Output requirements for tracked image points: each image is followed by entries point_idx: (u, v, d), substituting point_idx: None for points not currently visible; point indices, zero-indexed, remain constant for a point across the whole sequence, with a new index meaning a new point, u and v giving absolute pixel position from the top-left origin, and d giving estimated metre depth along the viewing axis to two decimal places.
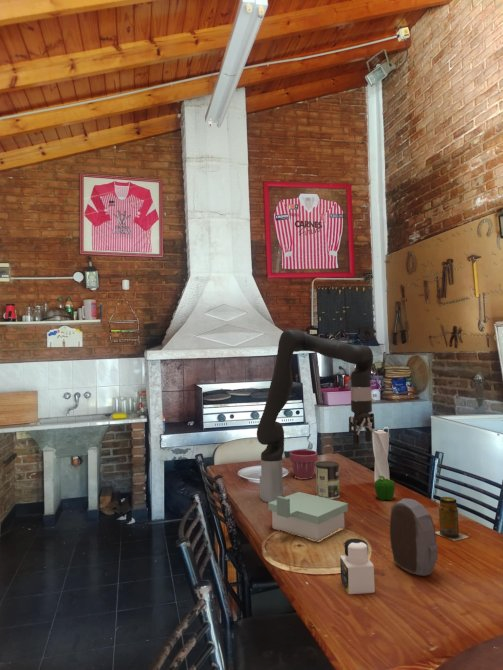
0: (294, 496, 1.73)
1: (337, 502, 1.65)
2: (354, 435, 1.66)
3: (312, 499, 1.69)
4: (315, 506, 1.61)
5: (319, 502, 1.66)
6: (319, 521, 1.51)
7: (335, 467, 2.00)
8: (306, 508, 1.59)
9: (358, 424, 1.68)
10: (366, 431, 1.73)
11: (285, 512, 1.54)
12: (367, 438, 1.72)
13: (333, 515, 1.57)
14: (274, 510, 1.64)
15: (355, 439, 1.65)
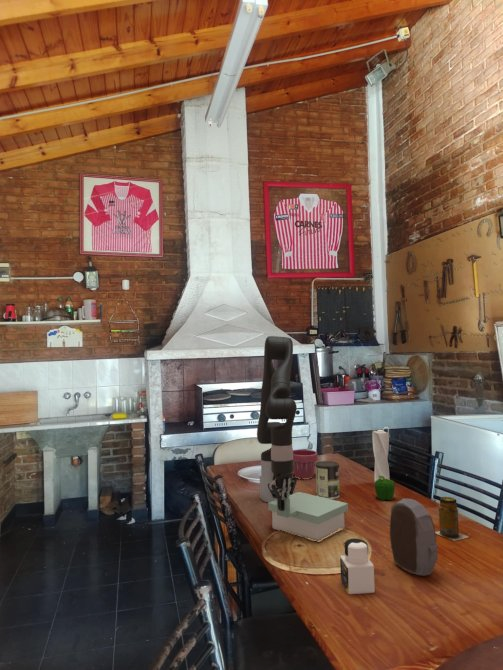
0: (294, 496, 1.73)
1: (337, 502, 1.65)
2: (279, 500, 1.54)
3: (312, 499, 1.69)
4: (315, 506, 1.61)
5: (319, 502, 1.66)
6: (319, 521, 1.51)
7: (335, 467, 2.00)
8: (306, 508, 1.59)
9: None
10: None
11: (285, 512, 1.54)
12: None
13: (333, 515, 1.57)
14: (274, 510, 1.64)
15: (279, 504, 1.54)
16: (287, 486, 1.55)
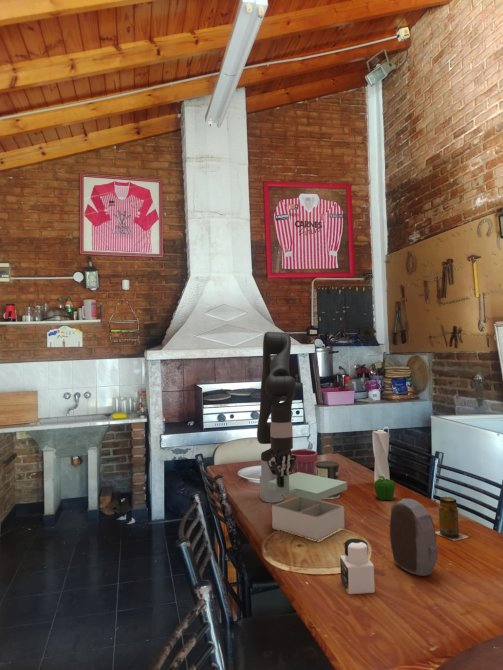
0: (293, 476, 1.73)
1: (336, 481, 1.65)
2: (278, 477, 1.54)
3: (312, 478, 1.69)
4: (314, 484, 1.62)
5: (319, 480, 1.66)
6: (318, 498, 1.52)
7: (335, 467, 2.00)
8: (305, 486, 1.60)
9: None
10: None
11: (284, 489, 1.54)
12: None
13: (332, 493, 1.58)
14: (273, 488, 1.64)
15: (279, 481, 1.54)
16: (286, 463, 1.56)
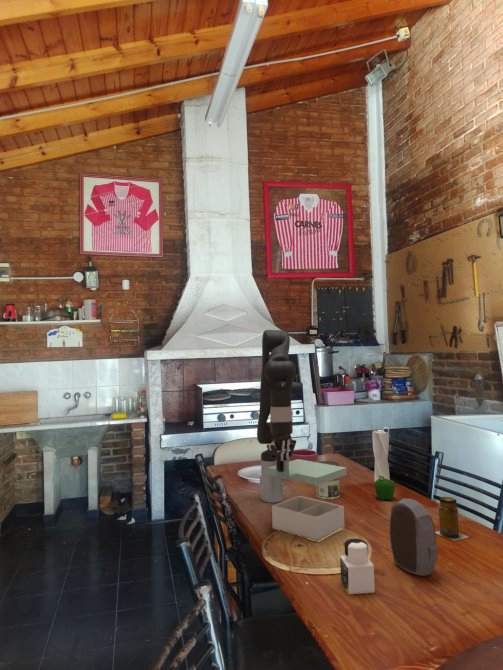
0: (293, 462, 1.73)
1: (336, 467, 1.66)
2: (278, 461, 1.55)
3: (312, 464, 1.70)
4: (314, 470, 1.62)
5: (319, 466, 1.67)
6: (318, 482, 1.52)
7: None
8: (305, 471, 1.60)
9: None
10: None
11: (284, 474, 1.54)
12: None
13: (332, 478, 1.58)
14: (273, 474, 1.65)
15: (279, 465, 1.54)
16: (286, 448, 1.56)
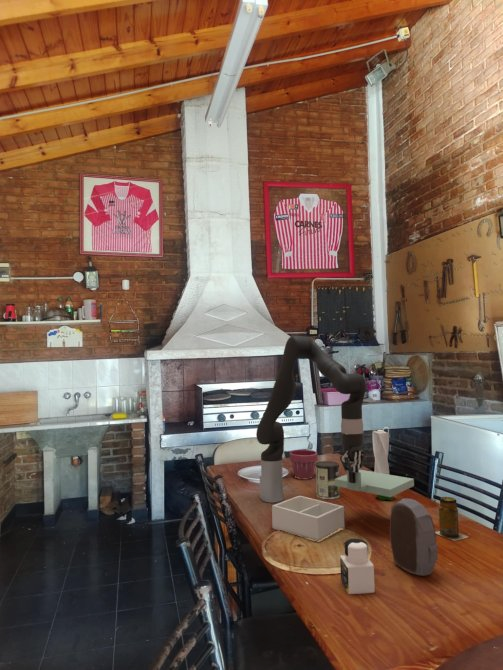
0: None
1: (403, 478, 1.68)
2: (350, 472, 1.57)
3: (377, 475, 1.72)
4: (383, 481, 1.64)
5: (385, 477, 1.69)
6: (391, 494, 1.54)
7: (335, 467, 2.00)
8: (375, 483, 1.62)
9: None
10: None
11: (357, 486, 1.57)
12: None
13: (402, 489, 1.60)
14: (341, 485, 1.67)
15: (351, 477, 1.57)
16: (357, 459, 1.58)
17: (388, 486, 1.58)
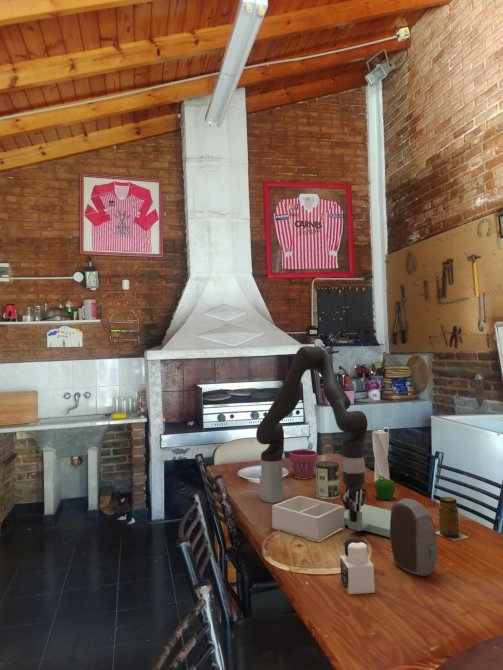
0: None
1: None
2: (351, 511, 1.56)
3: (378, 512, 1.71)
4: (384, 519, 1.63)
5: (386, 514, 1.68)
6: None
7: (335, 467, 2.00)
8: (376, 521, 1.62)
9: None
10: None
11: (358, 525, 1.56)
12: None
13: None
14: None
15: (352, 516, 1.56)
16: (359, 498, 1.58)
17: (389, 526, 1.57)
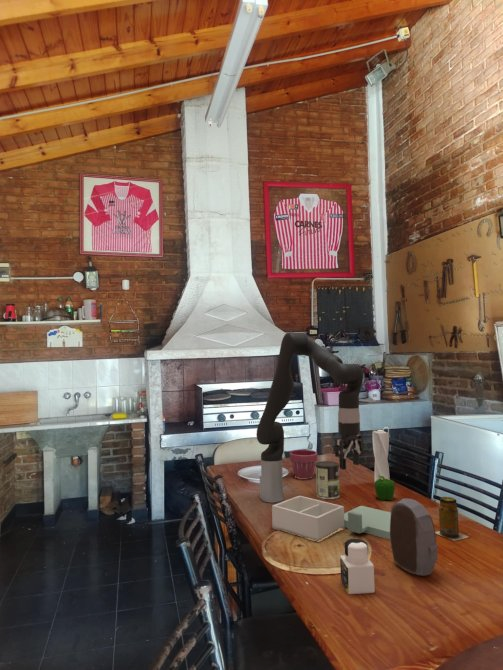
0: (358, 511, 1.75)
1: None
2: (340, 459, 1.58)
3: (378, 514, 1.71)
4: (384, 521, 1.63)
5: (386, 516, 1.68)
6: None
7: (335, 467, 2.00)
8: (376, 523, 1.61)
9: (345, 447, 1.60)
10: (354, 453, 1.65)
11: (358, 528, 1.56)
12: (355, 461, 1.65)
13: None
14: None
15: (341, 463, 1.58)
16: (356, 446, 1.62)
17: (389, 528, 1.57)
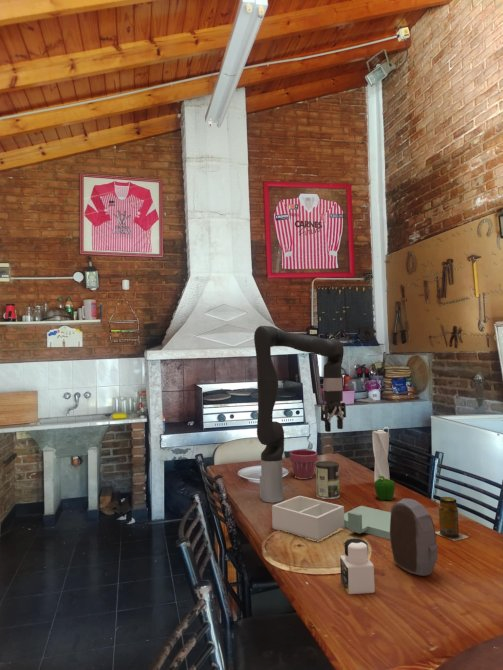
0: (358, 511, 1.75)
1: None
2: (326, 422, 1.79)
3: (378, 514, 1.71)
4: (384, 521, 1.63)
5: (386, 516, 1.68)
6: None
7: (335, 467, 2.00)
8: (376, 523, 1.61)
9: (330, 412, 1.81)
10: (338, 419, 1.86)
11: (358, 528, 1.56)
12: (339, 425, 1.86)
13: None
14: None
15: (326, 426, 1.79)
16: (339, 412, 1.84)
17: (389, 528, 1.57)
